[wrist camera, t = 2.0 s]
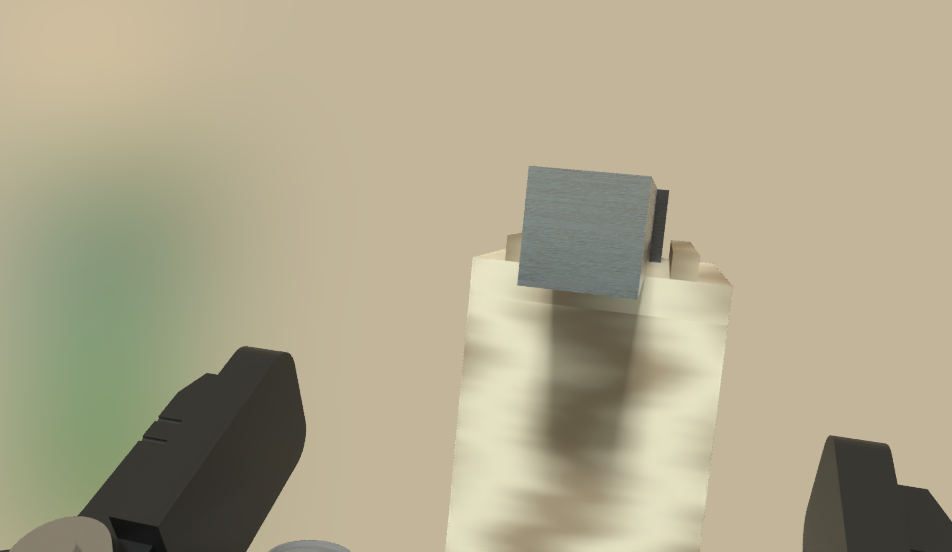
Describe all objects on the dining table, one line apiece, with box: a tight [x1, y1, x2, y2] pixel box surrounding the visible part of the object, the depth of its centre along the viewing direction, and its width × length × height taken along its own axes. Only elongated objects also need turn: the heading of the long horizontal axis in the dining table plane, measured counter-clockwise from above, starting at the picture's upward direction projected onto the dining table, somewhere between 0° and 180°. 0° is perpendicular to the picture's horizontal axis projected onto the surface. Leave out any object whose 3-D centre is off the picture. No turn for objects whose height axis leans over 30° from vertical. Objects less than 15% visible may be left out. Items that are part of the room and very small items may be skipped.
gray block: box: [517, 166, 669, 300], centre depth 35 cm, size 5×22×4 cm, turn 167°
